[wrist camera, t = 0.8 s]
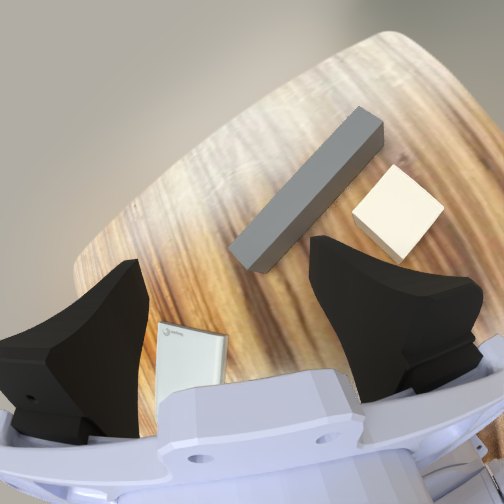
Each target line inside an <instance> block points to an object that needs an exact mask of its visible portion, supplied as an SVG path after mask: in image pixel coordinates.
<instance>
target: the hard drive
mask: <svg viewBox="0 0 504 504" xmlns="http://www.w3.org/2000/svg"><path fill="white" fill-rule="evenodd" d="M228 337H229V335H225V334H219V333H215V332H210V331H205V330H200V329H195V328H191V327H186V326H182V325H177V324H173V323H169V322H165V321H160V322H158V337H157V357H156V385H155V419H156V424H158V409H159V404H160V403H161V402H162V401H163V400H164V399H165V398H167V397H168V396H169V395H170V394H171V393H174V392H176V391H181V390H185V389H189V388H193V387H198V386H208V385H217V384H224V383H225V372H226V360H227V349H228Z"/></svg>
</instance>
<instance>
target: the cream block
mask: <svg viewBox="0 0 504 504" xmlns="http://www.w3.org/2000/svg"><path fill="white" fill-rule="evenodd" d="M443 209H444V207H443V206H442V205H441V204H440V203H439V202H438V201H437V200H436V199H435V198H433V197H432V196H431V195H430V194H429V193H428V192H427V191H425V190H424V189H423V188H422V187H421V186H420V185H418V184H417V183H416V182H415V181H414V180H413V179H411V178H410V177H409V176H408V175H406V174H405V173H404V172H403V171H401V170H400V169H399V168H398V167H396V166H395V165H394V164H393V165H392V166H391V168H390V169H389V170H388V171H387V172H386V173H385V175H384V176H383V177H382V178H381V179H380V180H379V182H378V183H377V184H376V185H375V186H374V187H373V189H372V190H371V191H370V192H369V193H368V194H367V196H366V197H365V198H364V199H363V200H362V201H361V202H360V204H359V205H358V206H357V207H356V208H355V209H354V210H353V211H352V214H353V218H354V221H355V224H356V225H357V226H358V227H359V228H360V229H361V230H362V231H363V232H364V233H365V234H366V235H368V236H369V237H370V238H371V239H372V240H373V241H374V242H375V243H376V244H377V245H378V246H379V247H380V248H381V249H383V250H384V251H385V252H386V253H387V254H388V255H389V256H390V257H391V258H392V259H393V260H394V261H395V262H396V263H397V264H398V265H399V264H400V263H401V262H402V261H403V260H404V258H405V257H406V256H407V255H408V254H409V252H410V251H411V250H412V249H413V248H414V246H415V245H416V244H417V243H418V242H419V240H420V239H421V238H422V237H423V235H424V234H425V233H426V232H427V230H428V229H429V228H430V227H431V225H432V224H433V223H434V222H435V220H436V219H437V217H438V216H439V215H440V213H441V212H442V211H443Z"/></svg>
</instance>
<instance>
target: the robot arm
mask: <svg viewBox="0 0 504 504" xmlns="http://www.w3.org/2000/svg"><path fill="white" fill-rule="evenodd" d="M309 280H310V283H311V286H312V288H313V291H314V293H315V296H316V298H317V300H318V301H319V303H320V305H321V307H322V309H323V310H324V312H325V314H326V316H327V318H328V319H329V321H330V323H331V325H332V326H333V328H334V330H335V332H336V334H337V336H338V338H339V340H340V342H341V344H342V347H343V349H344V352H345V355H346V357H347V360H348V363H349V365H350V368H351V371H352V374H353V377H354V380H355V383H356V387H357V390H358V393H359V397H360V400H361V404H360V402H359V400H358V398H357V396H356V394H355V392H354V390H353V388H352V385H351V383H350V381H349V379H348V377H347V375H345V374H343V373H340V372H338V371H336V370H334V369H313V370H304V371H299V372H294V373H289V374H284V375H279V376H273V377H267V378H261V379H255V380H248V381H241V382H234V383H226V384H217V385H208V386H198V387H193V388H189V389H185V390H181V391H176V392H174V393H171V394H170V395H169V396H168V397H167V398H165V399H164V400H163V401H162V402H161V403H160V404H159V409H158V431H157V435H154V436H149V437H143V438H140V436H139V424H138V371H139V362H140V356H141V351H142V346H143V341H144V336H145V332H146V327H147V322H148V314H149V296H148V293H147V289H146V286H145V283H144V279H143V276H142V272H141V269H140V265H139V262H138V259H132V260H125V261H123V262H121V263H120V264H119V265H118V266H116V267H115V268H114V269H113V270H112V271H111V272H110V273H108V274H107V275H106V276H105V277H104V278H103V279H102V280H101V281H100V282H98V283H97V284H96V285H95V286H94V287H93V288H91V289H90V290H89V291H88V292H87V293H86V294H84V295H83V296H82V297H81V298H79V299H78V300H77V301H76V302H74V303H73V304H72V305H70V306H69V307H67V308H66V309H64V310H63V311H61V312H60V313H58V314H56V315H55V316H53V317H51V318H50V319H48V320H46V321H45V322H43V323H41V324H39V325H37V326H35V327H33V328H31V329H28V330H26V331H24V332H22V333H19V334H17V335H14V336H11V337H8V338H6V339H3V340H1V341H0V390H1V391H2V393H3V394H4V395H5V396H6V397H7V398H8V400H9V401H10V402H11V403H12V404H13V405H14V406H15V407H16V410H15V413H14V415H13V414H12V413H10V412H8V411H6V410H2V409H0V480H1V481H3V482H4V483H6V484H7V485H9V486H10V487H12V488H14V489H15V490H18V491H20V492H23V493H25V494H28V495H31V496H33V497H36V498H39V499H41V500H44V501H47V502H50V503H53V504H504V459H500V460H498V459H493V460H492V461H491V462H490V463H488V466H489V468H490V469H491V471H492V473H493V478H494V480H495V482H496V484H497V486H498V488H499V489H497V487H496V485H495V483H494V481H493V479H492V477H491V475H490V473H489V472H488V470H487V468H486V466H485V464H484V463H483V461H482V459H481V458H482V457H484V456H485V455H486V454H487V452H488V449H487V447H486V446H485V445H484V444H483V442H482V441H481V440H480V439H479V438H478V436H477V435H476V433H478V432H479V431H481V430H482V429H483V428H485V427H486V426H487V425H489V424H490V423H491V422H492V421H494V420H495V419H496V418H498V417H499V416H500V415H501V414H502V413H503V412H504V338H503V337H502V336H501V335H500V334H497V335H495V336H493V337H491V338H490V339H488V340H486V341H484V342H483V343H481V344H480V345H479V347H478V348H477V347H476V346H475V345H474V344H473V342H474V341H475V336H474V335H473V333H472V332H471V330H472V328H473V326H474V323H475V321H476V319H477V317H478V315H479V312H480V310H481V307H482V303H483V291H482V289H481V288H480V287H479V286H478V285H477V284H476V283H475V282H474V281H473V280H472V279H470V278H468V277H455V276H442V275H435V274H429V273H424V272H419V271H414V270H410V269H406V268H403V267H399V266H396V265H393V264H390V263H387V262H384V261H381V260H379V259H376V258H374V257H372V256H369V255H367V254H365V253H362V252H360V251H358V250H356V249H354V248H352V247H350V246H347V245H345V244H343V243H341V242H339V241H337V240H335V239H333V238H330V237H328V236H324V235H323V236H314V237H310V262H309ZM479 445H480V447H479V448H477V447H478V446H479Z"/></svg>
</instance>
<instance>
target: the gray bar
mask: <svg viewBox="0 0 504 504" xmlns="http://www.w3.org/2000/svg"><path fill="white" fill-rule="evenodd" d="M383 146H384V126H383V121H382V120H380V119H379V118H377V117H376V116H374V115H373V114H371V113H370V112H368V111H366V110H365V109H363V108H362V107H360V106H358V107H357V108H356V109H355V110H354V112H353V113H352V114H351V115H350V116H349V117H348V118H347V119H346V120H345V121H344V122H343V123H342V124H341V125H340V126H339V127H338V128H337V129H336V130H335V132H334V133H333V134H332V135H331V136H330V137H329V138H328V139H327V140H326V141H325V142H324V143H323V144H322V145H321V146H320V147H319V149H318V150H317V151H316V152H315V153H314V154H313V155H312V156H311V157H310V158H309V159H308V160H307V161H306V162H305V164H304V165H303V166H302V167H301V168H300V169H299V170H298V171H297V172H296V173H295V174H294V175H293V177H292V178H291V179H290V180H289V181H288V182H287V183H286V184H285V185H284V186H283V187H282V189H281V190H280V191H279V192H278V193H277V194H276V195H275V196H274V197H273V198H272V199H271V201H270V202H269V203H268V204H267V205H266V206H265V207H264V208H263V209H262V210H261V212H260V213H259V214H258V215H257V216H256V217H255V218H254V219H253V220H252V222H251V223H250V224H249V225H248V226H247V227H246V228H245V229H244V230H243V232H242V233H241V234H240V235H239V236H238V237H237V238H236V239H235V240H234V242H233V243H232V244H231V245H230V246H229V247H228V249H229V250H230V251H231V252H232V254H233V255H234V256H235V257H236V258H237V259H238V260H239V261H240V263H241V264H242V265H243V266H244V267H245V268H246V269H247V270H249V271H254V272H259V273H264V274H267V272H268V271H269V270H270V269H271V268H272V267H273V266H274V265H275V264H276V263H277V262H278V261H279V260H280V259H281V258H282V257H283V256H284V254H285V253H286V252H287V251H288V250H289V249H290V248H291V247H292V246H293V245H294V244H295V243H296V242H297V241H298V240H299V238H300V237H301V236H302V235H303V234H304V233H305V232H306V231H307V230H308V229H309V228H310V227H311V225H312V224H313V223H314V222H315V221H316V220H317V219H318V218H319V217H320V216H321V215H322V214H323V212H324V211H325V210H326V209H327V208H328V207H329V206H330V205H331V204H332V203H333V201H334V200H335V199H336V198H337V197H338V196H339V195H340V194H341V193H342V192H343V190H344V189H345V188H346V187H347V186H348V185H349V184H350V183H351V182H352V180H353V179H354V178H355V177H356V176H357V175H358V174H359V173H360V172H361V170H362V169H363V168H364V167H365V166H366V165H367V164H368V163H369V161H370V160H371V159H372V158H373V157H374V156H375V155H376V154H377V152H378V151H379V150H380V149H381V148H382V147H383Z"/></svg>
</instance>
